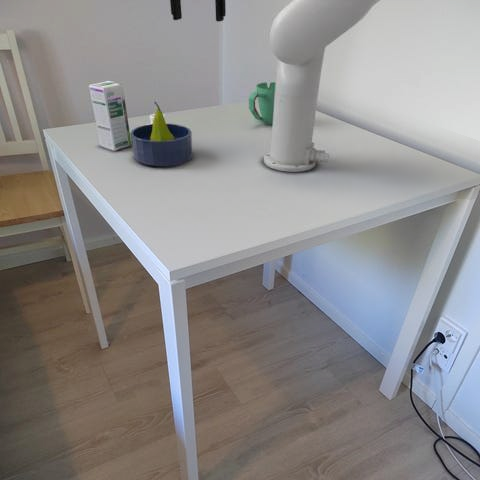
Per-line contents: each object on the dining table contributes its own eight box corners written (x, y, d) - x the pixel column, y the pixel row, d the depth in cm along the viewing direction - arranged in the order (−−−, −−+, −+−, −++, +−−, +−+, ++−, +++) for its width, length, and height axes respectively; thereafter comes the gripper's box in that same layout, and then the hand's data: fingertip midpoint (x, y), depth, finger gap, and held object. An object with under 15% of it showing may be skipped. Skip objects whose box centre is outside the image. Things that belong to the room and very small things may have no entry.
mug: (268, 116, 135) (271, 80, 128) (293, 122, 130) (297, 86, 123) (237, 125, 126) (238, 88, 120) (262, 133, 121) (264, 94, 115)
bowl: (201, 152, 108) (200, 127, 104) (177, 171, 98) (175, 145, 94) (150, 145, 111) (148, 120, 108) (123, 163, 101) (119, 137, 97)
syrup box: (114, 151, 107) (104, 87, 98) (99, 146, 110) (88, 83, 100) (132, 145, 111) (123, 83, 101) (117, 141, 113) (107, 79, 104)
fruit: (179, 158, 103) (175, 104, 95) (154, 161, 101) (148, 106, 93) (172, 149, 107) (167, 97, 100) (147, 152, 106) (141, 99, 98)
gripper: (141, -92, 79) (153, 20, 90) (230, -95, 75) (231, 23, 86) (159, -89, 84) (168, 17, 95) (242, -91, 80) (242, 19, 91)
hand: (198, 20), depth 90 cm, fingers open, 9 cm apart
